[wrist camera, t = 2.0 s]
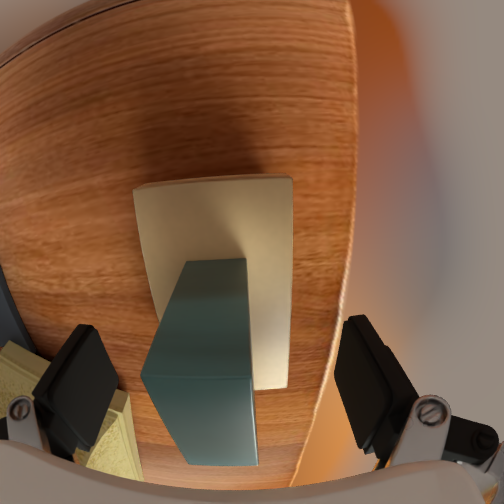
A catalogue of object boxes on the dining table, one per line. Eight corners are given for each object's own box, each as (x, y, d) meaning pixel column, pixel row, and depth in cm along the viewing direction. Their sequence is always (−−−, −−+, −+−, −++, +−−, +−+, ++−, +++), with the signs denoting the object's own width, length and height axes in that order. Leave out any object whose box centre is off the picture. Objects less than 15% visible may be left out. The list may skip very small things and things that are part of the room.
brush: (157, 178, 12) (25, 247, 4) (280, 169, 13) (363, 224, 4) (188, 352, 17) (164, 483, 8) (280, 348, 17) (303, 483, 8)
